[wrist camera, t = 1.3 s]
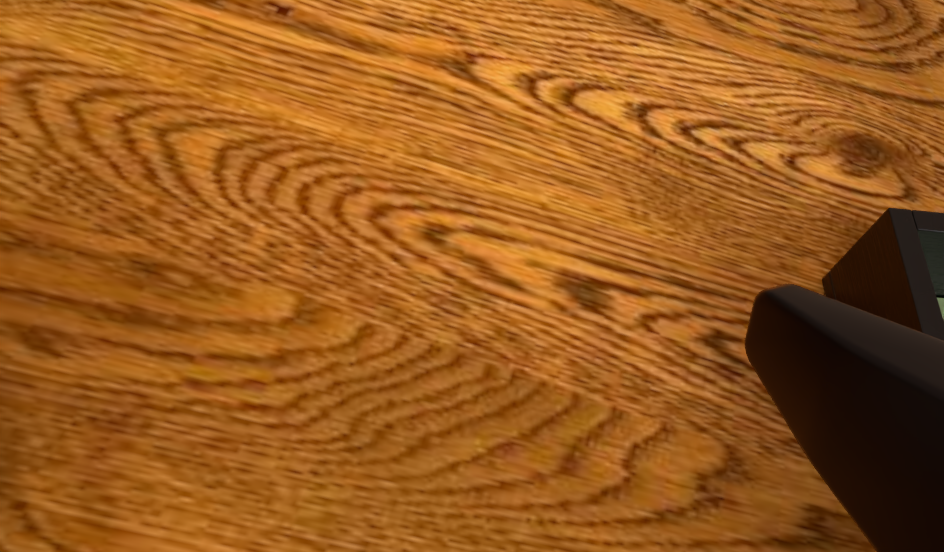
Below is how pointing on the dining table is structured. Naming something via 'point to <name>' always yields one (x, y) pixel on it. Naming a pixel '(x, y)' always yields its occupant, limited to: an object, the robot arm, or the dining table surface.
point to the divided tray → (896, 271)
